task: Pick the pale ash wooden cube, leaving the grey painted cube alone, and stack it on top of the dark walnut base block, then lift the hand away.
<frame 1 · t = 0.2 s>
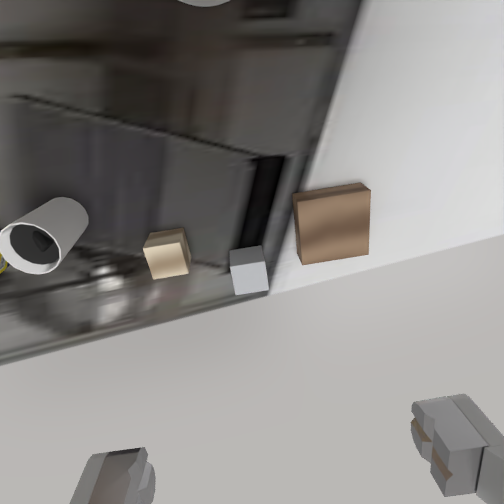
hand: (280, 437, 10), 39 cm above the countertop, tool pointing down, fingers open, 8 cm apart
grey block: (247, 261, 52), on the countertop
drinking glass: (67, 216, 46), on the countertop
ash block: (171, 245, 49), on the countertop
walnut block: (326, 218, 49), on the countertop
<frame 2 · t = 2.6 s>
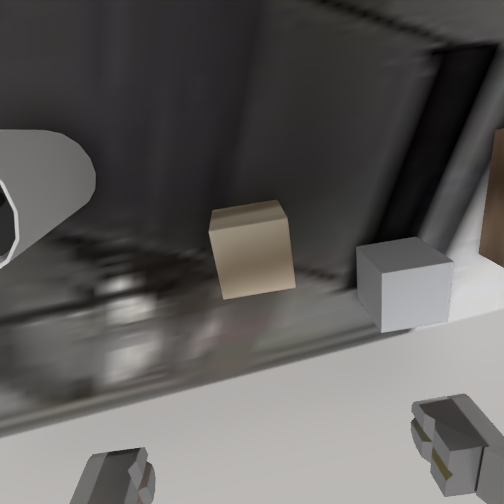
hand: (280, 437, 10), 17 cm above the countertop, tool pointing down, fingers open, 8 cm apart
grey block: (385, 268, 28), on the countertop
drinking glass: (55, 172, 23), on the countertop
ash block: (249, 234, 26), on the countertop
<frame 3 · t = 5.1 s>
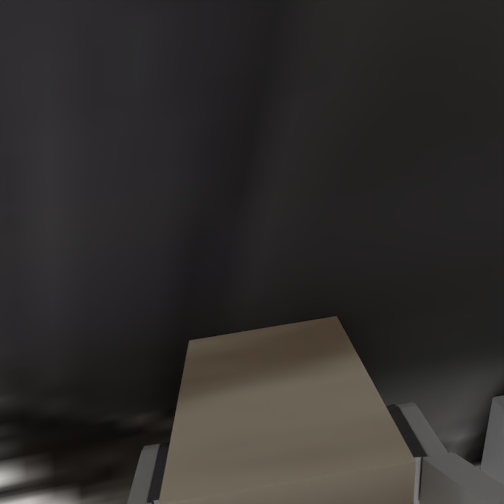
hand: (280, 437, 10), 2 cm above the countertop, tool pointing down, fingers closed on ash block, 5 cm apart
ash block: (272, 384, 12), on the countertop, touching gripper
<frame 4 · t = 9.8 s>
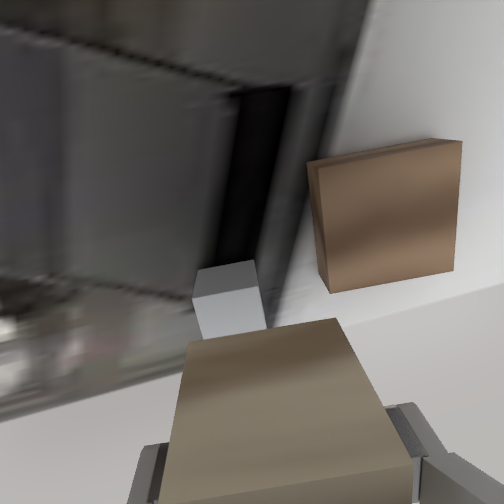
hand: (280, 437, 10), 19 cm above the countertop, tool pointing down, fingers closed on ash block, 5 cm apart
grey block: (231, 288, 29), on the countertop
ash block: (271, 386, 12), point 17 cm above the countertop, touching gripper
walnut block: (369, 209, 28), on the countertop
when the fingers open (8 cm above the countertop, at t = 14.3 s): ash block drops 2 cm, resting on walnut block.
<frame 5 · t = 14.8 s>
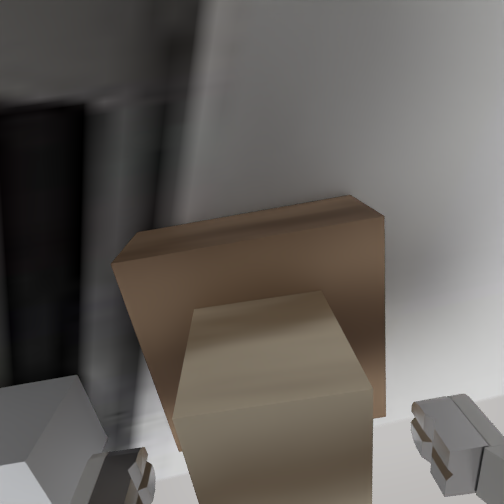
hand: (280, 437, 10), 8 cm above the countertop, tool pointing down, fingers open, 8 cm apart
grey block: (51, 414, 19), on the countertop
ash block: (265, 351, 14), point 4 cm above the countertop, touching walnut block
walnut block: (259, 301, 17), on the countertop, touching ash block
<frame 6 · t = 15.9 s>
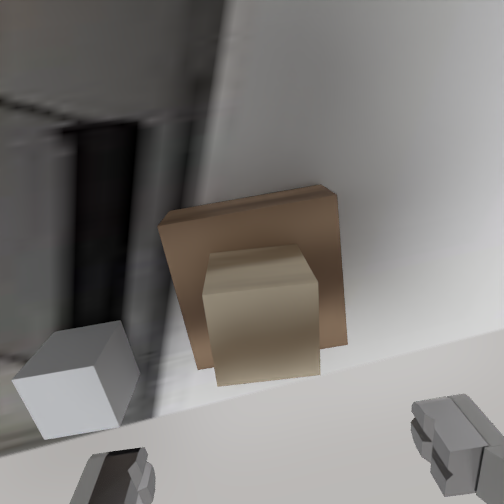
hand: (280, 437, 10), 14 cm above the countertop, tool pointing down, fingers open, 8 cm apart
grey block: (99, 352, 25), on the countertop
ash block: (257, 287, 19), point 4 cm above the countertop
walnut block: (256, 264, 23), on the countertop
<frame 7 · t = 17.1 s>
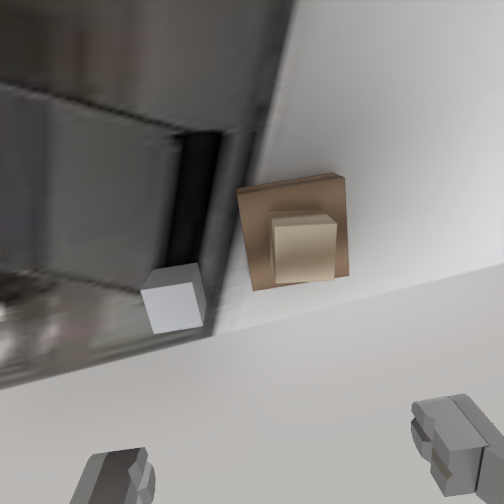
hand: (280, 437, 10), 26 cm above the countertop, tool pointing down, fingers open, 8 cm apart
grey block: (180, 286, 37), on the countertop
ash block: (295, 235, 31), point 4 cm above the countertop, touching walnut block
walnut block: (289, 226, 35), on the countertop, touching ash block
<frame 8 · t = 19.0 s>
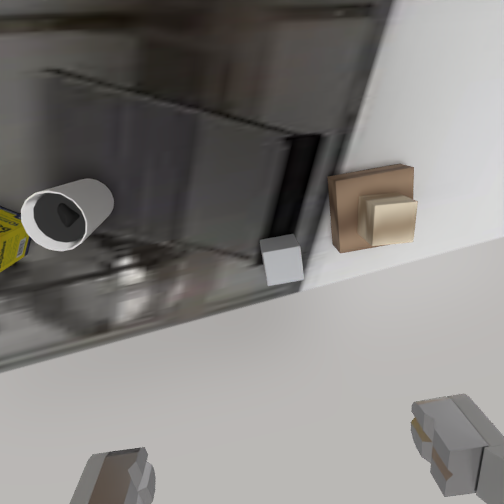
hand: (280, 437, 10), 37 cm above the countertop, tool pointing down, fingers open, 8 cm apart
grey block: (278, 252, 48), on the countertop
supplement box: (10, 228, 44), on the countertop
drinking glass: (92, 199, 44), on the countertop
ash block: (376, 213, 43), point 4 cm above the countertop
walnut block: (363, 204, 46), on the countertop
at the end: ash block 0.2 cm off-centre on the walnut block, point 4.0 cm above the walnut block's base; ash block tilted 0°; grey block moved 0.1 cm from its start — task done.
